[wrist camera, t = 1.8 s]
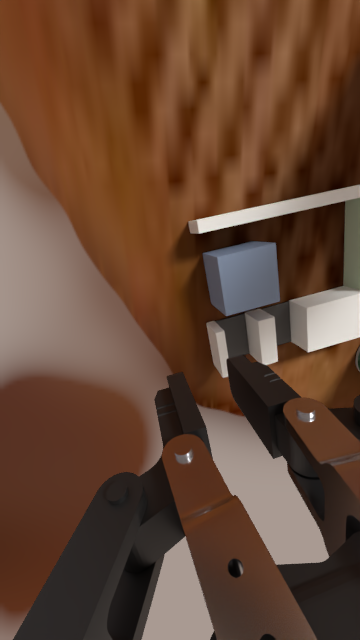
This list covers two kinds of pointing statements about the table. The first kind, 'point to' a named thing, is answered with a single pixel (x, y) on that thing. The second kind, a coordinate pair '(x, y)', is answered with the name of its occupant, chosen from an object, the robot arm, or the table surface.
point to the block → (242, 276)
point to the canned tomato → (358, 359)
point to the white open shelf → (298, 314)
